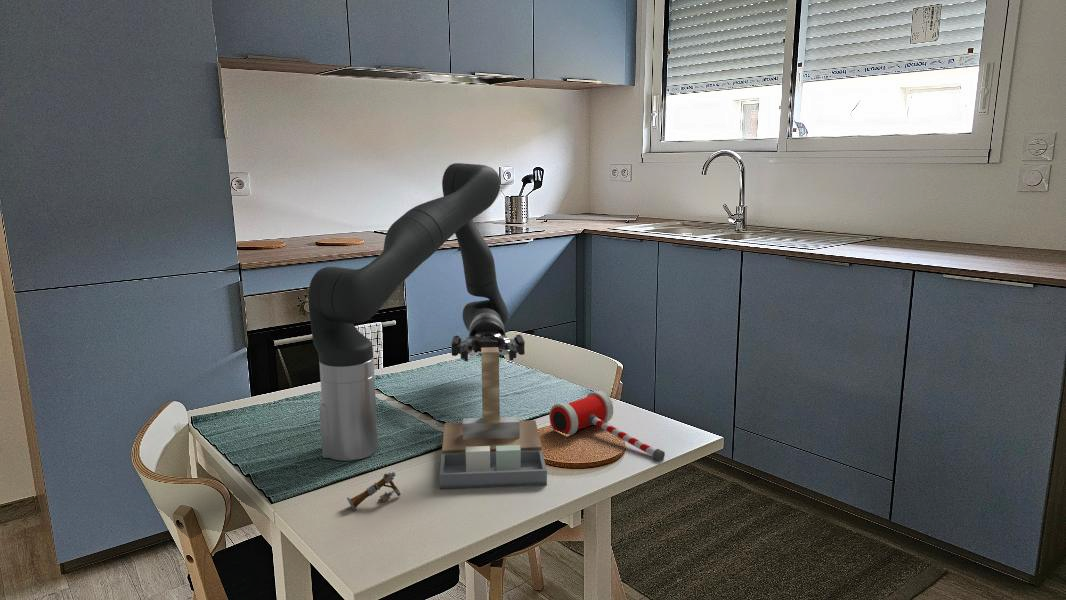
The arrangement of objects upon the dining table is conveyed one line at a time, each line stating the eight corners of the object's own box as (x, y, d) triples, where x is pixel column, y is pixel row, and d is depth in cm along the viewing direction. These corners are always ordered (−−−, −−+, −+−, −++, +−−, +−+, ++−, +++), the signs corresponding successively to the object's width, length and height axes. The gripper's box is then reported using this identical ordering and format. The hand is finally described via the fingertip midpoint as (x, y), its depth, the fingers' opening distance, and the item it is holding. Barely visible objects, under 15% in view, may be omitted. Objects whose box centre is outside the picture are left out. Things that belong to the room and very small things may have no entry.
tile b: (496, 467, 121) (496, 473, 119) (495, 445, 120) (496, 450, 118) (519, 466, 121) (520, 472, 119) (519, 445, 121) (520, 450, 119)
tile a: (466, 468, 121) (466, 474, 119) (465, 446, 120) (465, 451, 118) (489, 467, 121) (490, 473, 119) (489, 445, 120) (489, 451, 118)
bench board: (442, 466, 123) (442, 450, 122) (444, 438, 134) (444, 423, 134) (541, 463, 124) (541, 447, 123) (535, 435, 136) (535, 420, 135)
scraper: (462, 440, 126) (460, 353, 123) (463, 433, 129) (461, 348, 125) (519, 438, 127) (519, 351, 123) (518, 431, 130) (518, 346, 126)
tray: (440, 489, 115) (439, 474, 114) (441, 466, 123) (441, 453, 122) (546, 484, 116) (546, 470, 116) (542, 463, 124) (542, 449, 123)
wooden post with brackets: (407, 493, 112) (394, 471, 110) (362, 524, 109) (348, 502, 107) (403, 488, 113) (391, 466, 112) (358, 518, 111) (345, 497, 109)
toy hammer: (682, 452, 129) (683, 419, 128) (640, 472, 122) (641, 437, 120) (590, 416, 146) (590, 386, 144) (548, 432, 138) (548, 400, 137)
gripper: (452, 316, 149) (450, 337, 133) (520, 315, 150) (526, 336, 134) (453, 351, 151) (451, 375, 135) (520, 350, 152) (526, 374, 136)
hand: (488, 355), depth 135 cm, fingers open, 8 cm apart
